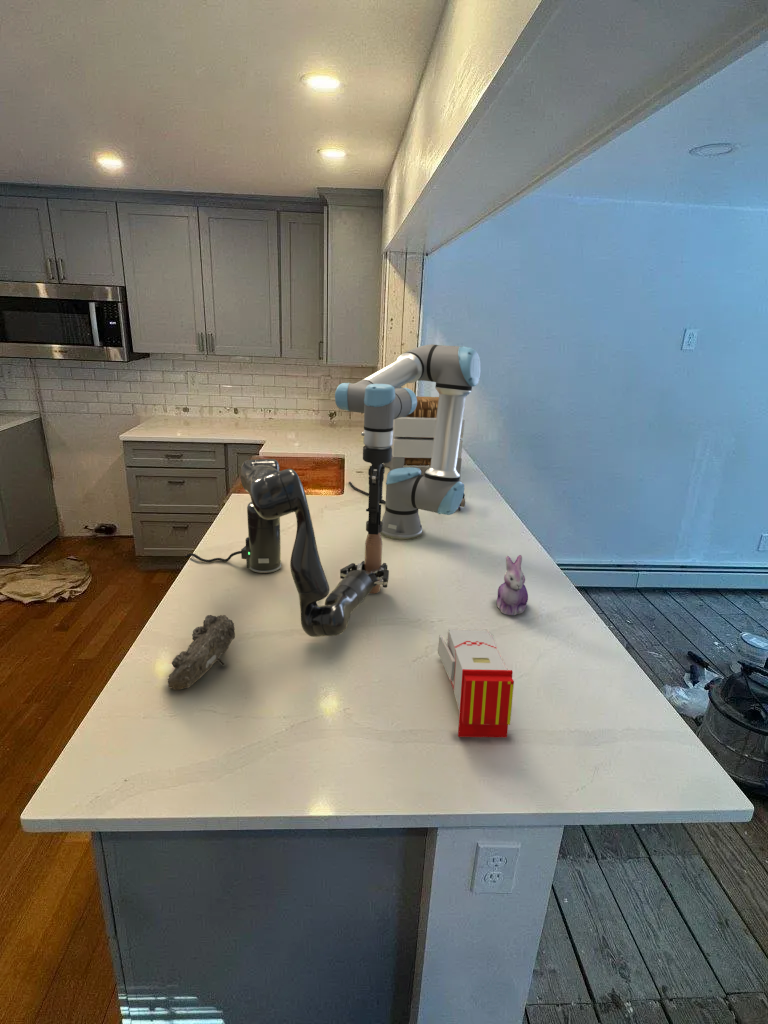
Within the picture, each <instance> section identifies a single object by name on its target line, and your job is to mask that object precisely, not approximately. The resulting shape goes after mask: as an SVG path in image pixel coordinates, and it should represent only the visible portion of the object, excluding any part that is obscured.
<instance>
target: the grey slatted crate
mask: <svg viewBox="0 0 768 1024" xmlns="http://www.w3.org/2000/svg"><path fill="white" fill-rule="evenodd" d="M400 388H403V386H402V387H400ZM416 398H417V406H416V409H415V410H414V411H413V412H412V413H411V414H409V415H407V416H406V417H401V418H397V419H394V421H393V445H392V446H390V447H391V448H392V460H391V461H390V462H389V463H385V464H384V463H382V464H384V467H388V468H389V472H390V471H391V470H393V469H397V468H405V466H406V467H409V466H411V467H417V466H418V467H430V465H431V457H432V449H433V441H434V433H435V425H436V417H437V408H438V400H439V396H417V395H416ZM464 429H465V419H464V418H463V422H462V429H461V437H460V444H459V451H458V459H457V466H456V471H457V472H458V474H459V475H460V476H461V472H462V461H463V460H462V453H463V442H464V441H463V440H462V439H463V438H464V431H465V430H464ZM459 481H460V482H461V477H460V478H459Z"/></svg>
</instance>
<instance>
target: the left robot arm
mask: <svg viewBox="0 0 768 1024" xmlns="http://www.w3.org/2000/svg"><path fill="white" fill-rule="evenodd" d="M239 477H240V483H241V485H242V488H243V490H244V491H245V492H247V493H248V495H249V497H250V502H248V504H247V505H246V506H247V507H246V513H247V515H246V516H247V537H246V538H245V546H243V547H242V548H241V549H240V550H238V551H235V552H232V553H230V554H229V555H228V557H227V558H222V557H215V558H211V559H206V558H202V557H200V556H199V555H198V554H195V553H192V552H191V553H188V554H186V555H185V558H190V557H193V558H195V559H197V560H199V561H200V562H204V563H212V562H213V563H214V562H216V561H220V562H225V563H226V562H228V561H230V560H231V559H232V557H234V556H236V555H241V559H242V560H246V569H249V570H250V571H251V572H253V573H256V574H271V573H274V572H277V571H279V570H280V569H281V568H282V556H281V555H282V553H281V552H282V550H281V549H282V548H281V517H284V516H287V515H290V514H292V513H295V519H296V533H295V539H294V543H293V547H292V551H291V555H290V562H289V563H290V564H289V566H290V568H289V569H290V573H291V576H292V580H293V583H294V585H295V588H296V591H297V594H298V597H299V598H298V599H299V609H300V625H301V628H302V630H303V632H304V633H305V634H306V635H308V636H309V637H312V638H318V637H335V636H340V635H341V634H343V633H344V632H346V630H347V628H348V626H349V621H350V618H351V615H352V613H353V612H354V611H355V609H356V608H357V607H358V606H360V605H361V604H362V603H363V602H364V600H365V599H366V598H367V597H368V595H369V594H371V593H370V592H371V590H372V588H373V587H375V586H376V585H377V584H379V585H380V586H382V588H383V589H386V588H388V584H389V577H390V570H389V569H388V564H387V563H386V562H383V563H382V564H381V566H380V568H379V569H373V570H371V571H365V570H364V562H365V560H362V561H361V562H359V563H357V564H356V563H354V562H351V563H350V564H348V565H346V566H344V567H342V568H341V569H339V579H340V581H339V582H338V583H337V585H336V586H335V588H334V589H333V590H332V591H331V592H330V585H329V582H328V579H327V575H326V573H325V570H324V567H323V563H322V561H321V558H320V553H319V550H318V545H317V541H316V535H315V530H314V525H313V521H312V520H313V519H312V516H311V512H310V508H309V503H308V499H307V494H306V491H305V488H304V485H303V482H302V480H301V478H300V476H299V475H298V473H297V472H296V470H294V469H293V468H287V469H282V470H281V467H280V463H279V461H278V460H276V459H275V458H259V459H258V458H257V459H247V460H244V462H243V463H242V464H241V467H240V473H239ZM380 578H381V579H380ZM323 599H325V600H324V604H323V605H318V603H317V602H320V601H322V600H323Z"/></svg>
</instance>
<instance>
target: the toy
mask: <svg viewBox="0 0 768 1024" xmlns="http://www.w3.org/2000/svg"><path fill="white" fill-rule="evenodd" d="M446 640H447V643H446V641H445V639H444V636H443V635H442V634H439V637H438V646H437V656H438V657H439V659H440V661H441V663H442V666H443V668H444V670H445V672H446V674H447V677H448V679H449V681H450V684H451V687H452V690H453V693H454V697H455V701H456V705H457V708H458V711H459V714H458V715H459V716H458V730H457V731H458V732H457V737H458V738H508V731H509V726H510V725H511V717H512V707H513V697H514V696H513V695H514V684H515V680H514V679H513V673H514V671H513V670H512V669H508V667H507V665H506V662H505V661H504V659H503V658H502V655H501V653H500V651H499V649H498V647H497V643H496V639H495V637H494V635H493V634H491V632H490V631H489V629H467V628H466V629H465V628H463V629H461V628H460V629H459V628H448V630H447V639H446Z"/></svg>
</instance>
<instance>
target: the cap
mask: <svg viewBox="0 0 768 1024" xmlns="http://www.w3.org/2000/svg"><path fill="white" fill-rule="evenodd" d="M365 523H366V524H365V532H367V533H368V520H366V522H365ZM382 531H383V522H382V520H381V521H380V520H379V530H378V533H380V532H382Z"/></svg>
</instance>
